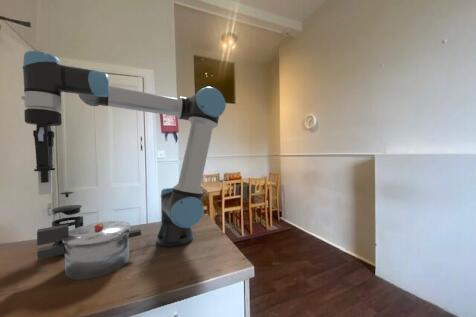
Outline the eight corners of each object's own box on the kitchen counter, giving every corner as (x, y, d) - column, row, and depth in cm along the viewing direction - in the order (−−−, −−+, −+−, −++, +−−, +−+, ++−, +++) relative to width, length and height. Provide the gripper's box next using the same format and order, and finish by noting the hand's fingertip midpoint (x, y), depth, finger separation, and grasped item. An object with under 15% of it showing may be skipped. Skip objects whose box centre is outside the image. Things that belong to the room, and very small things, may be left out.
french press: (66, 257, 74) (65, 194, 73) (42, 256, 74) (41, 194, 74) (92, 243, 85) (91, 189, 85) (71, 243, 86) (70, 189, 86)
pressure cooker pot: (136, 244, 85) (135, 220, 84) (145, 262, 70) (145, 233, 70) (44, 266, 68) (43, 236, 68) (32, 296, 53) (31, 258, 53)
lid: (124, 221, 83) (124, 209, 83) (136, 235, 68) (135, 221, 68) (41, 236, 67) (41, 222, 67) (33, 259, 53) (33, 241, 52)
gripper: (29, 112, 60) (31, 192, 60) (18, 103, 49) (20, 199, 50) (63, 115, 64) (64, 189, 65) (59, 107, 54) (61, 195, 54)
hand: (45, 193), depth 57 cm, fingers closed
